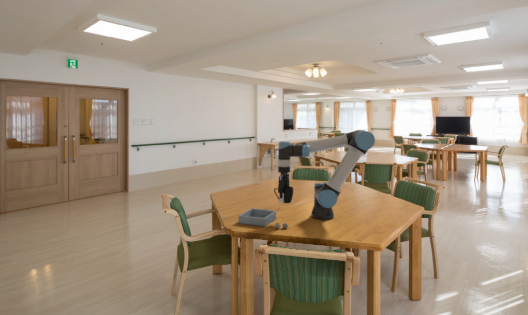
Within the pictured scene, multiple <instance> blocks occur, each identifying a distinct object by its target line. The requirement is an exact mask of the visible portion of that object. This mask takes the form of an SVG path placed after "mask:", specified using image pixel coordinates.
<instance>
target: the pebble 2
mask: <svg viewBox="0 0 528 315" xmlns="http://www.w3.org/2000/svg"><path fill="white" fill-rule="evenodd" d="M288 227H289V224H288V223H287V222H284V223H283V224H282V228H284V229H288Z"/></svg>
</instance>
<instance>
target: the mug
mask: <svg viewBox="0 0 528 315" xmlns="http://www.w3.org/2000/svg"><path fill="white" fill-rule="evenodd" d="M276 190H278V188H274V189H273V192H274V194H275V196H276V198H277V199H278V200H279V195H278V193H277V192H276ZM283 193H284V203H283V204H291V203H292V199H293V196H294V187H293V186H290V185H289V186H284V191H283Z"/></svg>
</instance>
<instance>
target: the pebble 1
mask: <svg viewBox="0 0 528 315" xmlns="http://www.w3.org/2000/svg"><path fill="white" fill-rule="evenodd" d="M274 228H275V229H276V230H279V229H280V228H281V224H280V222H276V223H275V224H274Z"/></svg>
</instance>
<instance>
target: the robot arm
mask: <svg viewBox="0 0 528 315" xmlns="http://www.w3.org/2000/svg"><path fill="white" fill-rule="evenodd" d="M375 142H376V138H375V136H374V134H373V133H372V132H371V131H369V130H367V129H356V130H354V131H350V132H347V133H346V132H345V133H343V135H339V136H338V135H337V136H332V137H328V138H322V139H317V140H311V141H307V142H301V143H300V142H299V143H298V142H297V143H295V144H292V143H291V142H290V141H279V142H278V151H277V152H278V157H277V158H278V161H277V163H278V164H277V165H278V167H277V168H278V170H277V172H278V173H279V174H280V176H278V186H277V187H278V189H277V194H278V197H279V199H278V203H279V204H285V203H284V193H283V191H284V186H290V172H291V158H293V157H295V158H301V157H302V158H307V157H310V155H311V154H312V153H319V152H323V151H328V150H335V149H340V148H346V149H347V151H346V152H345V154H344V156H343V157H342V158H341V161H340V162H339V164H338V165H337V167H336V169H335V170H334V171H333V174H332V175H331V177H330V178H329V179H328V181H324V182H315V183H314V193H313V194H314V199H313V200H314V201H313V207H312V210H311V215H310V216H311V218H314V219H317V220H332V219H334V218H335V214H334V209H333V208H334V206H336V204H337V203H338V200H339V199H338V198H339V196H340V194H342V191H341V188H342V186H343V185H344V183H345V182H346V180H347V179H348V177H349V176H350V174H351V173H352V171H353V169H354V168H355V167H356V164H357V163H358V162H359V160H360V158H361V157H363V156H365V155H366V154H367V152H368V151H369V150H371V149H372V148H373V147H374V145H375Z"/></svg>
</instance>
